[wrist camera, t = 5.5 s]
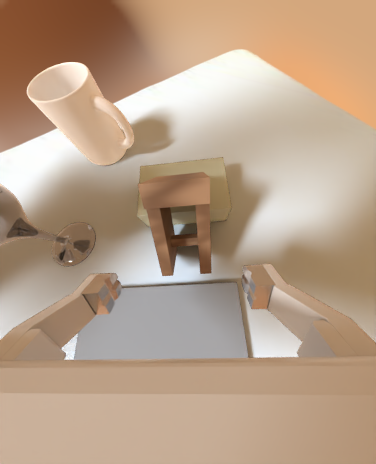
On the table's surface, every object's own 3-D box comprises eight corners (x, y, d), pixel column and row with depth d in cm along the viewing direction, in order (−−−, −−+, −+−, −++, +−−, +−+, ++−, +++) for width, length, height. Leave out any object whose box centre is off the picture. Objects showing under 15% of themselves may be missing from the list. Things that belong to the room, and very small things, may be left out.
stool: (169, 275, 19) (131, 276, 8) (168, 205, 22) (140, 143, 12) (209, 273, 18) (221, 271, 8) (202, 202, 22) (204, 135, 11)
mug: (152, 141, 27) (125, 65, 17) (134, 175, 25) (91, 109, 15) (101, 132, 29) (51, 59, 19) (81, 162, 27) (12, 97, 17)
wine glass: (68, 280, 20) (-271, 292, 6) (40, 247, 22) (-261, 194, 8) (107, 238, 21) (-77, 162, 7) (78, 211, 23) (-112, 109, 9)
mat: (69, 417, 15) (62, 424, 14) (89, 289, 19) (85, 290, 18) (255, 418, 14) (259, 427, 13) (235, 282, 18) (236, 282, 17)
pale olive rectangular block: (148, 226, 21) (137, 215, 18) (149, 183, 24) (140, 166, 20) (225, 220, 21) (231, 207, 17) (219, 176, 23) (223, 157, 19)
